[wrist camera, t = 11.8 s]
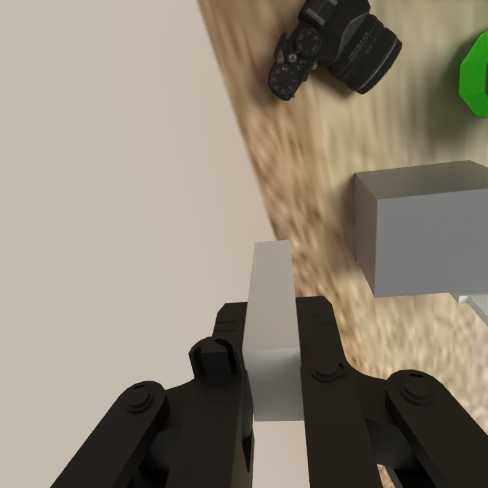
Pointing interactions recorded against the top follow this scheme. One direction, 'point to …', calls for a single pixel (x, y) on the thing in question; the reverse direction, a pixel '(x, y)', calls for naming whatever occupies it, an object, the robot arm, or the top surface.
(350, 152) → the top surface
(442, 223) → the housing
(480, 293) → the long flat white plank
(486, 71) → the plastic bottle
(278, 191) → the top surface
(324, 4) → the camera
